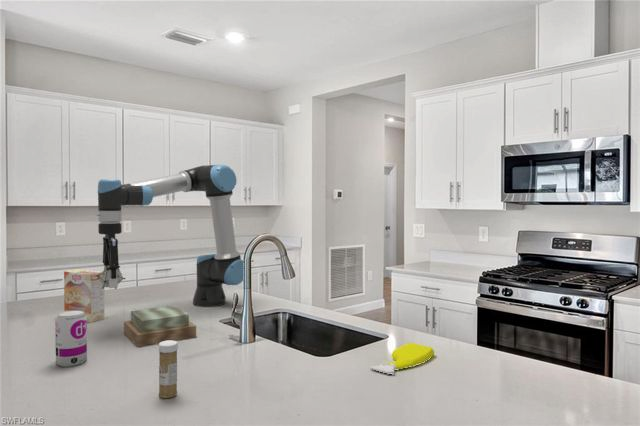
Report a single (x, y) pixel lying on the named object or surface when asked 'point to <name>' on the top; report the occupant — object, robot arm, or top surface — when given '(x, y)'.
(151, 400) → the top surface
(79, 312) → the supplement can
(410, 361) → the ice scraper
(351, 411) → the top surface
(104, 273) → the game die
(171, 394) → the sprinkles bottle
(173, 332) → the tower base
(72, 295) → the coffeecake box
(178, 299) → the top surface
